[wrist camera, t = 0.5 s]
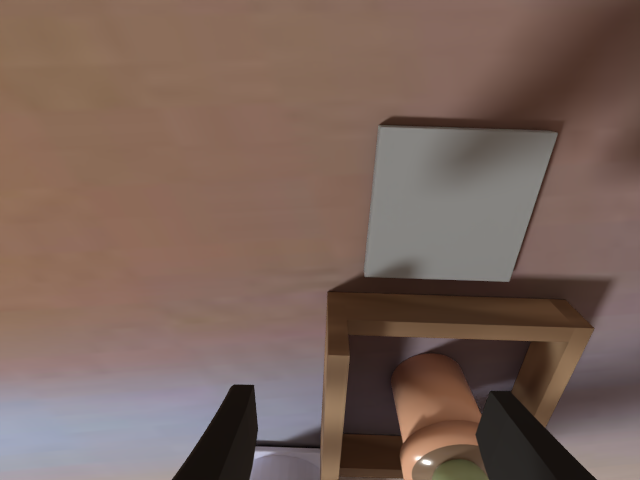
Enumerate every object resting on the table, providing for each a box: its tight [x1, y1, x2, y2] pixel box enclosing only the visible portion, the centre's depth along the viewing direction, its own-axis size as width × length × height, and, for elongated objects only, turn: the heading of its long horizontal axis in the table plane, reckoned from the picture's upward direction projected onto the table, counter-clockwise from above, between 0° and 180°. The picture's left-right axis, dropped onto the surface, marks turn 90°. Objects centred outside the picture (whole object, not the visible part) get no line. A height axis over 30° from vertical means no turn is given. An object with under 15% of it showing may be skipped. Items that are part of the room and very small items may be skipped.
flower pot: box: [391, 353, 489, 480], centre depth 20 cm, size 6×6×8 cm
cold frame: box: [320, 292, 594, 480], centre depth 21 cm, size 14×14×5 cm
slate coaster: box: [364, 125, 558, 282], centre depth 18 cm, size 8×8×1 cm
